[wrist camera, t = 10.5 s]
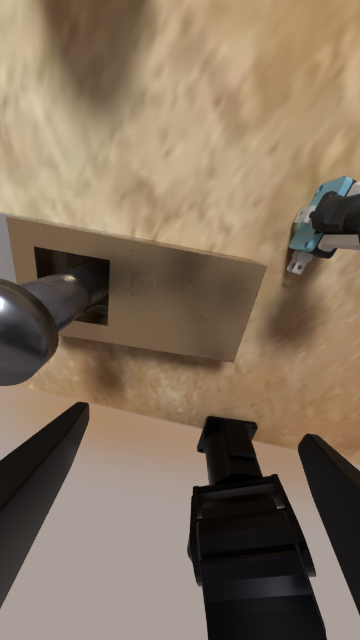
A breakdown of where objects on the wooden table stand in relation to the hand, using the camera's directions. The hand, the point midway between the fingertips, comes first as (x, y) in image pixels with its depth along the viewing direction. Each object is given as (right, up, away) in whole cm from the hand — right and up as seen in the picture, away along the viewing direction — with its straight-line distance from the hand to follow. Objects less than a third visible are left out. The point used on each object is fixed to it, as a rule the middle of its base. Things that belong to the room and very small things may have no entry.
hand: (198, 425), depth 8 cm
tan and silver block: (-8, +8, +10) cm, 15 cm away
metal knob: (-8, +8, +10) cm, 15 cm away
